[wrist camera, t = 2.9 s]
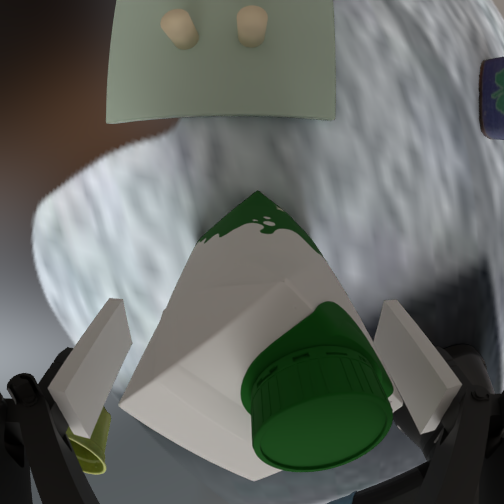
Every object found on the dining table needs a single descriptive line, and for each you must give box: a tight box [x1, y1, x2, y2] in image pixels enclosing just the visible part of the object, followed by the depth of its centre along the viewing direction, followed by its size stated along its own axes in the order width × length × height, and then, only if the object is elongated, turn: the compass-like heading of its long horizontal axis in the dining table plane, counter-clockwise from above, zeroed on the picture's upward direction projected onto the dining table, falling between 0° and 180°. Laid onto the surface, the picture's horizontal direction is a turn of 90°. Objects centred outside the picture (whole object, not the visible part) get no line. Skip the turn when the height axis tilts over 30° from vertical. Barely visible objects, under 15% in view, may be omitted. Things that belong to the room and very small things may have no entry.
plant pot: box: [66, 406, 111, 474], centre depth 30 cm, size 9×9×9 cm
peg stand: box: [106, 0, 336, 124], centre depth 17 cm, size 18×18×6 cm
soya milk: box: [118, 190, 403, 481], centre depth 17 cm, size 9×9×20 cm
